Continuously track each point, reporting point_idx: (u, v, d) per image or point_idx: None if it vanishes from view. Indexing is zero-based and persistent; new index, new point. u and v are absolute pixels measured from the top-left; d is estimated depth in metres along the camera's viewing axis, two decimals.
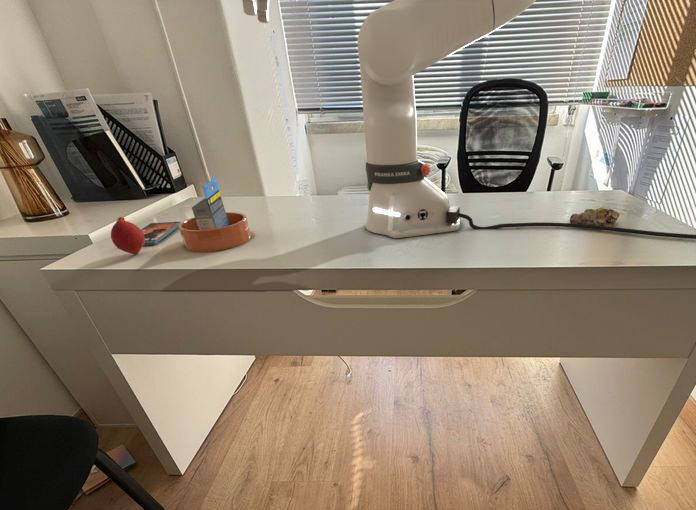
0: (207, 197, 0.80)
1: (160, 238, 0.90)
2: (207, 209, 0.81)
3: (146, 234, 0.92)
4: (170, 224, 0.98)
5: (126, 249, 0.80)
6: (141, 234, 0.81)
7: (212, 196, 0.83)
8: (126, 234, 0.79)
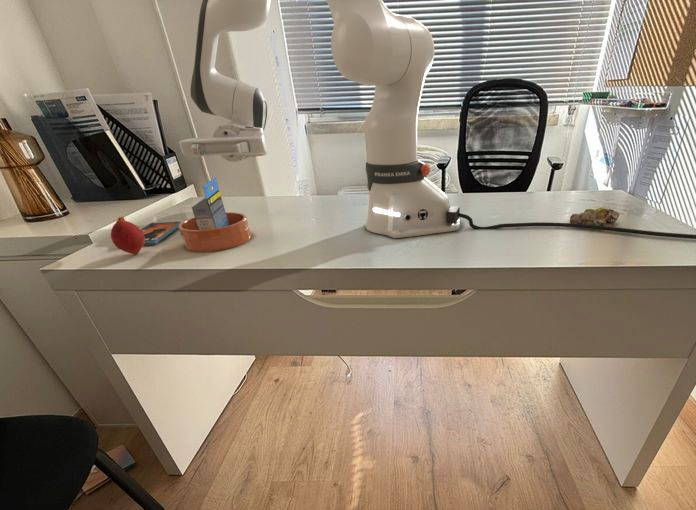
0: (207, 197, 0.80)
1: (160, 238, 0.90)
2: (207, 209, 0.81)
3: (146, 234, 0.92)
4: (170, 224, 0.98)
5: (126, 249, 0.80)
6: (141, 234, 0.81)
7: (212, 196, 0.83)
8: (126, 234, 0.79)
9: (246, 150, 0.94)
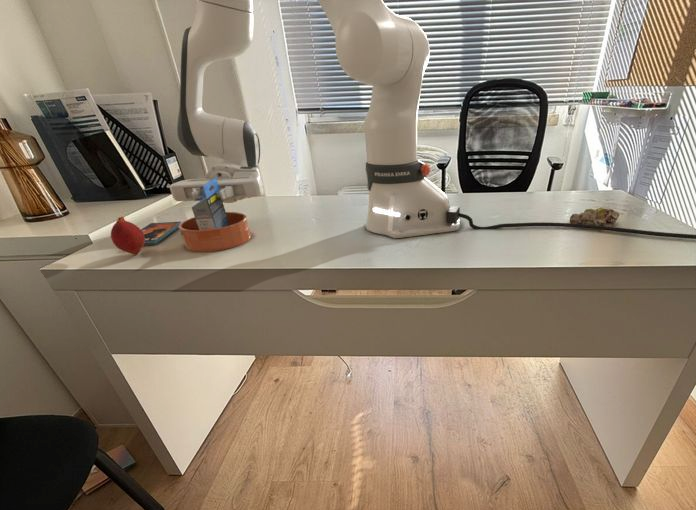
0: (207, 197, 0.80)
1: (160, 238, 0.90)
2: (207, 209, 0.81)
3: (146, 234, 0.92)
4: (170, 224, 0.98)
5: (126, 249, 0.80)
6: (141, 234, 0.81)
7: (212, 196, 0.83)
8: (126, 234, 0.79)
9: (231, 195, 0.88)
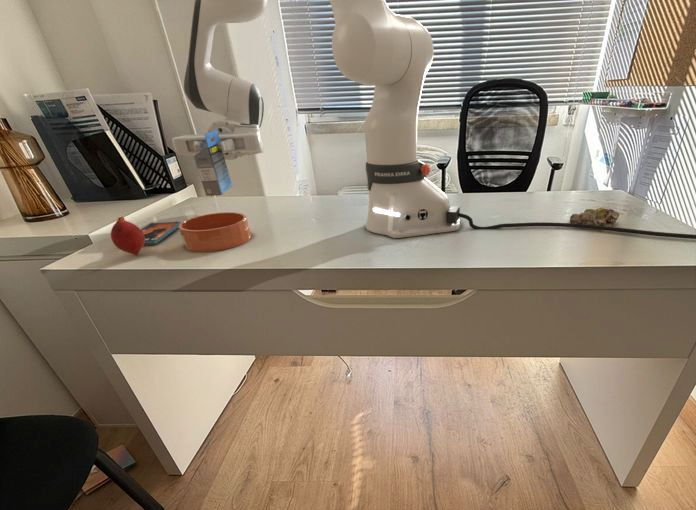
0: (209, 146, 0.83)
1: (160, 238, 0.90)
2: (209, 158, 0.84)
3: (146, 234, 0.92)
4: (170, 224, 0.98)
5: (126, 249, 0.80)
6: (141, 234, 0.81)
7: (214, 146, 0.86)
8: (126, 234, 0.79)
9: (231, 148, 0.90)
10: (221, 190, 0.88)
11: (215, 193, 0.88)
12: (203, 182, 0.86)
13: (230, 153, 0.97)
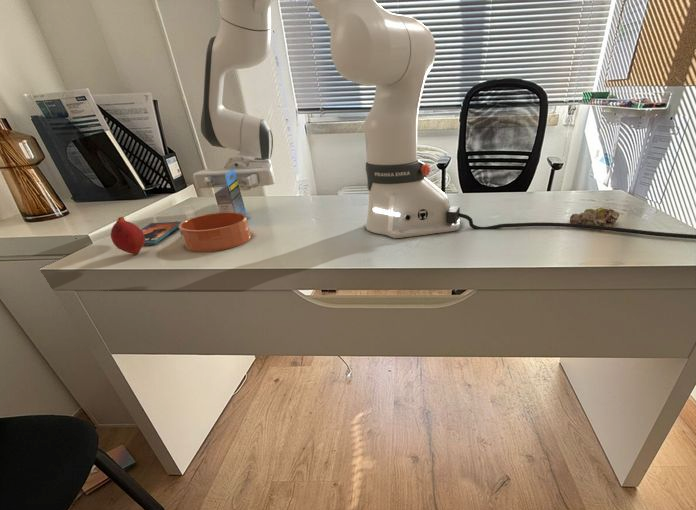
0: (228, 185, 0.92)
1: (160, 238, 0.90)
2: (228, 195, 0.93)
3: (146, 234, 0.92)
4: (170, 224, 0.98)
5: (126, 249, 0.80)
6: (141, 234, 0.81)
7: (232, 184, 0.95)
8: (126, 234, 0.79)
9: (256, 182, 0.99)
10: None
11: None
12: None
13: None
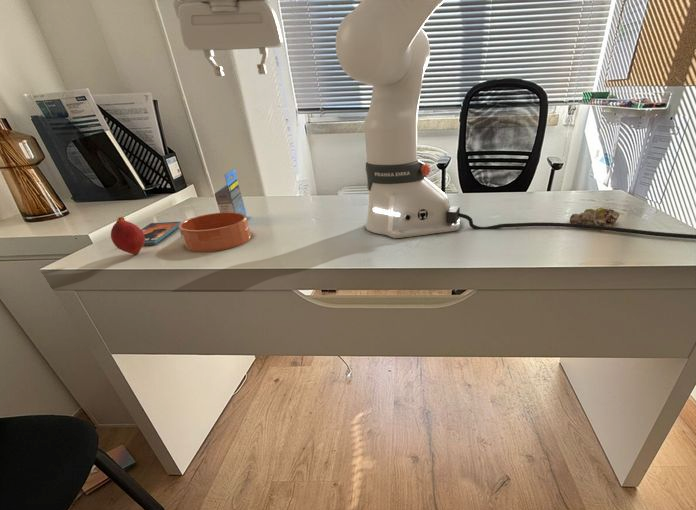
0: (228, 185, 0.92)
1: (160, 238, 0.90)
2: (228, 195, 0.93)
3: (146, 234, 0.92)
4: (170, 224, 0.98)
5: (126, 249, 0.80)
6: (141, 234, 0.81)
7: (232, 184, 0.95)
8: (126, 234, 0.79)
9: (267, 57, 0.85)
10: None
11: None
12: None
13: None
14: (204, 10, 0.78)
